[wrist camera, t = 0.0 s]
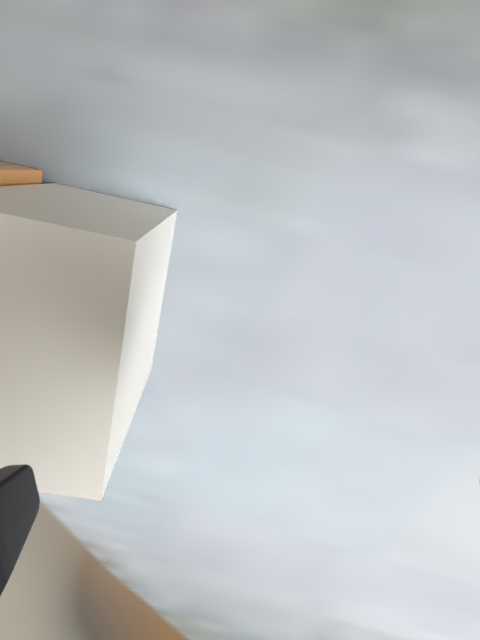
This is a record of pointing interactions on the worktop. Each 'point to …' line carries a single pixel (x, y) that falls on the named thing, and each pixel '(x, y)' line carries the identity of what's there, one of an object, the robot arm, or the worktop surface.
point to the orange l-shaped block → (18, 175)
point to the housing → (76, 328)
